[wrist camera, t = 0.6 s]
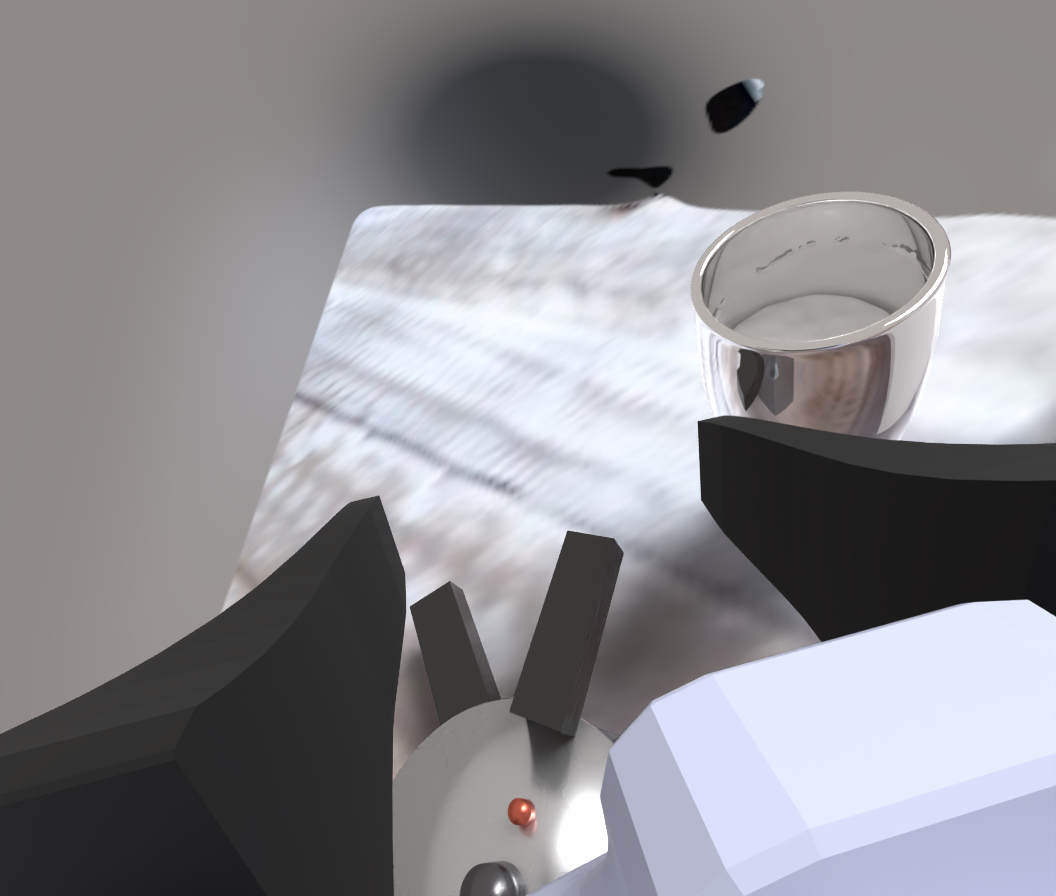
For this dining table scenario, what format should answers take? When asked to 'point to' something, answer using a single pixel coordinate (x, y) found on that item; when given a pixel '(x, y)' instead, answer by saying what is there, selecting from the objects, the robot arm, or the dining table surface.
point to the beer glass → (822, 313)
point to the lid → (516, 759)
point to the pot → (455, 653)
